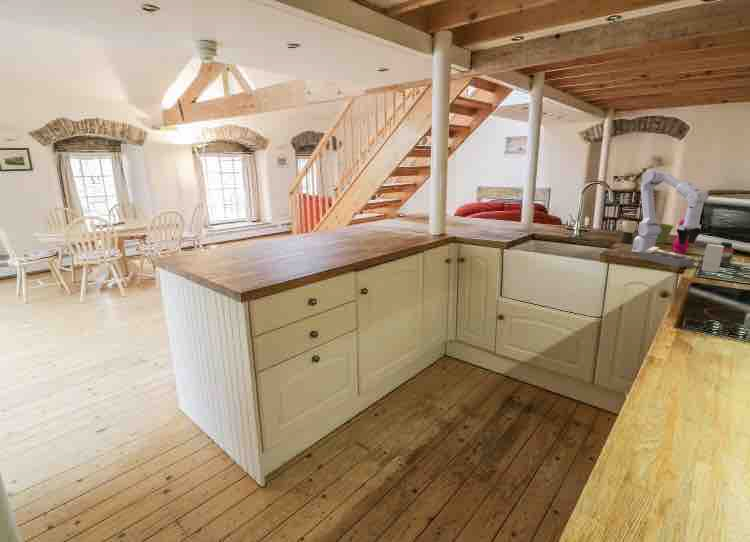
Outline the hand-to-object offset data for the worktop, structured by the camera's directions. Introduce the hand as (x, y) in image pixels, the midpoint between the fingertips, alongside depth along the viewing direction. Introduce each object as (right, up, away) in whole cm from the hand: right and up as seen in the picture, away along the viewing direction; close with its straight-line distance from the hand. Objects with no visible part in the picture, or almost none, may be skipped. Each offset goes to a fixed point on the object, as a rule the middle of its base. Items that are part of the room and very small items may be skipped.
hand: (686, 243), depth 202 cm
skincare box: (+1, -14, -13) cm, 19 cm away
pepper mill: (+16, -3, +26) cm, 30 cm away
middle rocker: (-11, -4, +1) cm, 11 cm away
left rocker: (-13, -3, +6) cm, 14 cm away
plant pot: (+23, +4, +52) cm, 57 cm away
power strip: (-9, -9, +3) cm, 13 cm away
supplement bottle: (+16, -11, -2) cm, 19 cm away
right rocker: (-8, -5, -4) cm, 11 cm away
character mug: (+1, +4, +50) cm, 50 cm away
